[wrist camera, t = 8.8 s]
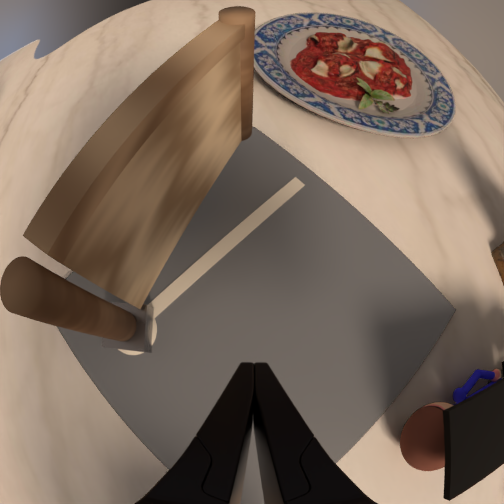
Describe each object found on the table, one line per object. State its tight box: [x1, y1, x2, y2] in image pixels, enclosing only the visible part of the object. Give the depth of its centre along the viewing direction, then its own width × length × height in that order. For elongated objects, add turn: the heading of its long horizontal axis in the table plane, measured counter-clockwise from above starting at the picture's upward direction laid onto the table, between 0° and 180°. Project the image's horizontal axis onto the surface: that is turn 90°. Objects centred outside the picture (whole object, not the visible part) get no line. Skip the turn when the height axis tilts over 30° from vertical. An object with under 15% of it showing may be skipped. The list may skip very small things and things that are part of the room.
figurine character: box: [400, 361, 504, 501], centre depth 14 cm, size 7×8×15 cm
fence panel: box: [0, 6, 255, 341], centre depth 15 cm, size 18×2×11 cm, turn 155°
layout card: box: [57, 127, 456, 504], centre depth 20 cm, size 23×23×1 cm
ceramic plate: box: [254, 13, 456, 138], centre depth 29 cm, size 26×26×3 cm
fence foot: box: [102, 302, 154, 353], centre depth 18 cm, size 3×3×2 cm
